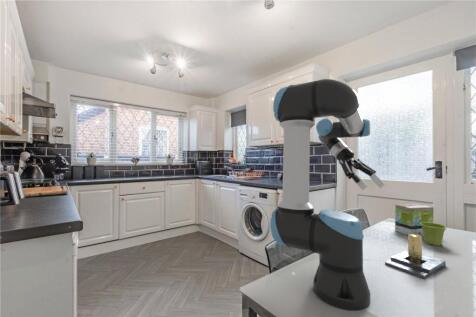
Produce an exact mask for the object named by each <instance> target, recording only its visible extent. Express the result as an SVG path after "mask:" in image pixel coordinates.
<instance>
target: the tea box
mask: <svg viewBox="0 0 476 317" xmlns="http://www.w3.org/2000/svg"><path fill="white" fill-rule="evenodd" d="M394 210H395V211H394V212H395V213H394V214H395V216H394V218H395V219H394V231H395V232H397V233H398V232H399V233H401V234H404V235H407V236H408V234H415V235H419V236H424V234H423V228H422V226H421V224H420V223H422V222H429V223H434V214H435V213H434V211H435V210H434V207H433V206H429V205H425V204H424V205H423V204H419V203H408V204H407V203H404V204H403V203H402V204H395V209H394Z"/></svg>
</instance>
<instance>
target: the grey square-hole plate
mask: <svg viewBox="0 0 476 317" xmlns="http://www.w3.org/2000/svg"><path fill="white" fill-rule="evenodd" d="M407 260H408V259H407ZM384 264H385V265H386V266H388V267H391V268H394V269H397V270H399V271H402V272H404V273H407V274H409V275H412V276H415V277H417V278H420V279H423V280H425V279H427V278H429V277H430V276H432V275H434V274H435V273H437V272H439V271H440V270H442V269H441V267H439V268H437V269H435V270H434V271H432V272H430V273H428V272H425V271H422V270H419V269H417V268H414V267H411V266H408V265H405V264H402V263H399V262H396V261H394V260H391V259H388V260H386V261H385V262H384ZM422 264H423V262H422Z"/></svg>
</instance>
